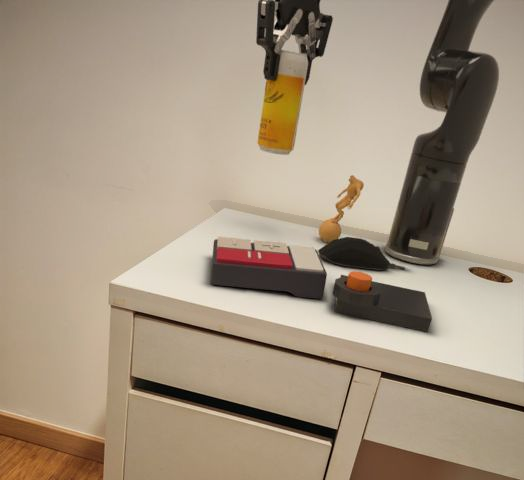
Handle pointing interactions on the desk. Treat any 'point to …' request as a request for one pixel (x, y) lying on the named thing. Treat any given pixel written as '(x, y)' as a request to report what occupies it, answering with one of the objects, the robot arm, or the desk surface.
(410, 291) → the black orange button box
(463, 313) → the desk surface
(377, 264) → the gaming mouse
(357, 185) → the figurine
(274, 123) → the beer can
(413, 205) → the robot arm
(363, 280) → the button
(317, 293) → the red grey electronic device
